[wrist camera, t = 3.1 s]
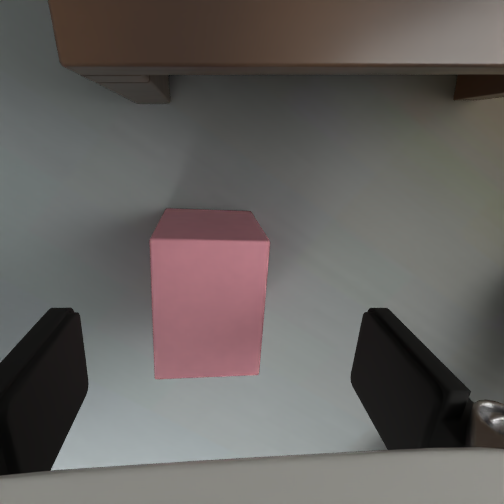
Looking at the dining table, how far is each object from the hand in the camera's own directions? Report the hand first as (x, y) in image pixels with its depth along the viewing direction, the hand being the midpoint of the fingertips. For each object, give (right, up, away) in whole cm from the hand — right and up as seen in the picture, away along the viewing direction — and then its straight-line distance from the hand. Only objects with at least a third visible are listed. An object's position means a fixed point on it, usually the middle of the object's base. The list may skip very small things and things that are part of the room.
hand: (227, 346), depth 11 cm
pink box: (-2, +2, +8) cm, 8 cm away
